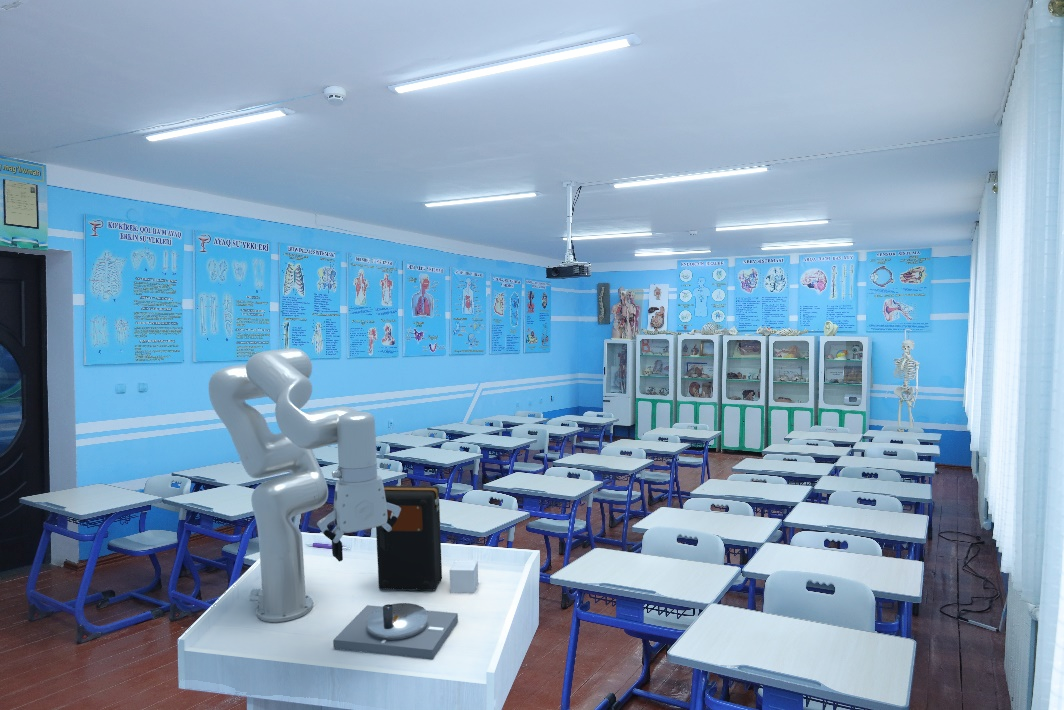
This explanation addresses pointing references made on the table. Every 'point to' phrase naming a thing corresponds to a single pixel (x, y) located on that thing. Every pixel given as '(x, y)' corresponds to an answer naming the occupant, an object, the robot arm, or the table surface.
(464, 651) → the table surface
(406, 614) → the dial
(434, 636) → the grey base plate
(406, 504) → the voltmeter
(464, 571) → the light grey cube
